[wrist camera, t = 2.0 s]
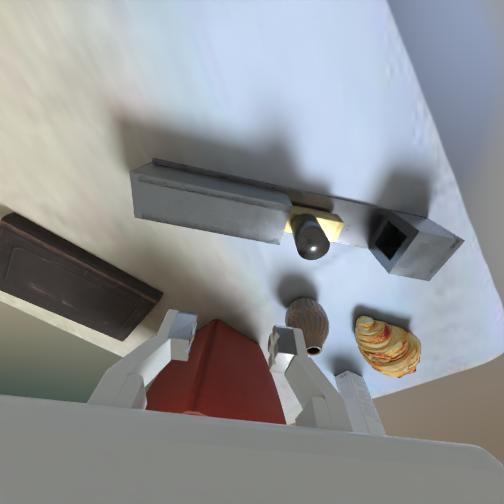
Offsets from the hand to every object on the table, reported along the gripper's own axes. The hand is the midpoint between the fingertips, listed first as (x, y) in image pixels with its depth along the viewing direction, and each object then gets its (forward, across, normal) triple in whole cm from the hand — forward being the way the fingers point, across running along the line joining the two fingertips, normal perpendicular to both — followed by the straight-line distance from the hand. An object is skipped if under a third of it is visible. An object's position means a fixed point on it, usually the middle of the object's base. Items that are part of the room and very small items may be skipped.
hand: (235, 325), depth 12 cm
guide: (+19, -6, 0) cm, 20 cm away
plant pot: (+19, 0, +32) cm, 38 cm away
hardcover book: (+20, +25, +21) cm, 38 cm away
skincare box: (+19, -32, +38) cm, 54 cm away
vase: (+19, -13, +17) cm, 29 cm away
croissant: (+20, -32, +22) cm, 44 cm away
